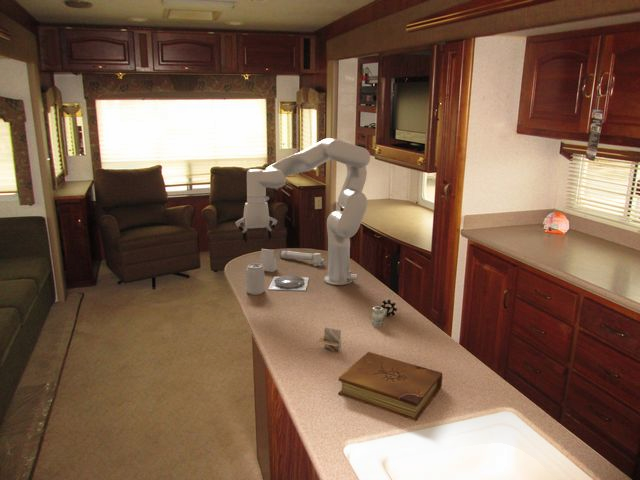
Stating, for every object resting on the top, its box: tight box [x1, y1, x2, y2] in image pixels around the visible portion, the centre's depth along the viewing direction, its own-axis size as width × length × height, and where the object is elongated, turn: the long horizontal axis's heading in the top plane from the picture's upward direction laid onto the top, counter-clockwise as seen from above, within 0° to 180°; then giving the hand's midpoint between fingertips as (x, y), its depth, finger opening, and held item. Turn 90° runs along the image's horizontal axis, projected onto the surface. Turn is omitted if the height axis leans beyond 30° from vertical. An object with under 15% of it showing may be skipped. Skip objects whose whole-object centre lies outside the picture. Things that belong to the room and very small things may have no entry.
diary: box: [337, 351, 443, 422], centre depth 145 cm, size 23×19×6 cm
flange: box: [267, 275, 310, 292], centre depth 228 cm, size 16×16×2 cm
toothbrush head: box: [279, 249, 324, 267], centre depth 258 cm, size 5×7×25 cm
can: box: [245, 263, 266, 296], centre depth 216 cm, size 8×8×12 cm
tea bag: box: [259, 248, 277, 273], centre depth 245 cm, size 4×7×10 cm, turn 66°
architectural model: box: [316, 327, 342, 353], centre depth 168 cm, size 3×7×7 cm, turn 69°
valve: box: [371, 299, 398, 328], centre depth 190 cm, size 7×7×12 cm
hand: (256, 240), depth 215 cm, fingers open, 9 cm apart
